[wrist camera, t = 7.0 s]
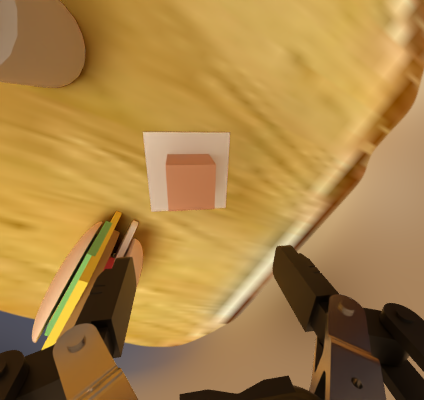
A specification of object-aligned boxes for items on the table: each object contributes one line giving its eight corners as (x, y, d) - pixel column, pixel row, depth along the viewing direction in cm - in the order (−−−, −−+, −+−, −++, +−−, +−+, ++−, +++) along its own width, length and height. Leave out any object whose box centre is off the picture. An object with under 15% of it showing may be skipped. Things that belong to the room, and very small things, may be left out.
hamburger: (122, 287, 33) (96, 377, 22) (65, 269, 30) (3, 363, 19) (158, 228, 29) (149, 300, 19) (98, 202, 27) (47, 270, 16)
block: (167, 154, 25) (165, 165, 20) (208, 153, 26) (216, 164, 21) (169, 193, 27) (168, 211, 22) (208, 191, 28) (214, 208, 23)
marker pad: (143, 131, 24) (142, 132, 23) (229, 132, 25) (230, 132, 25) (151, 209, 28) (151, 211, 28) (224, 206, 30) (225, 207, 29)
